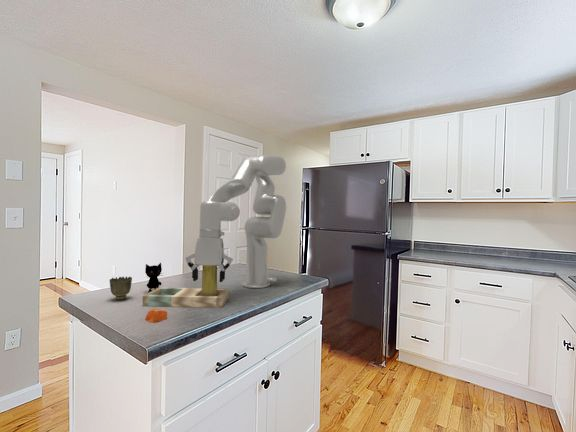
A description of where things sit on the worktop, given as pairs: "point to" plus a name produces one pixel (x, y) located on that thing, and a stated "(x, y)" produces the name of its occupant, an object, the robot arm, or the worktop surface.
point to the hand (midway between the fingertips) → (208, 280)
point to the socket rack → (185, 298)
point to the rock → (156, 315)
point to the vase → (209, 280)
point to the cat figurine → (153, 276)
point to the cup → (120, 287)
